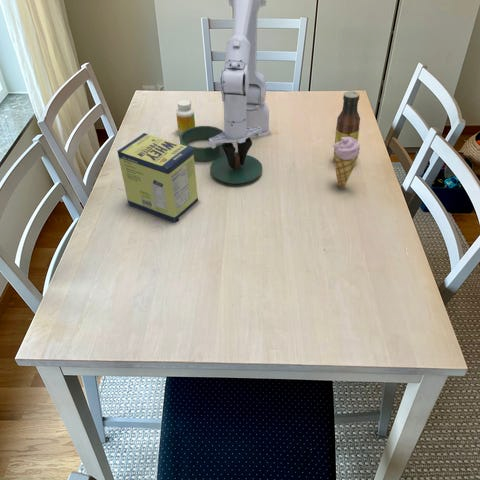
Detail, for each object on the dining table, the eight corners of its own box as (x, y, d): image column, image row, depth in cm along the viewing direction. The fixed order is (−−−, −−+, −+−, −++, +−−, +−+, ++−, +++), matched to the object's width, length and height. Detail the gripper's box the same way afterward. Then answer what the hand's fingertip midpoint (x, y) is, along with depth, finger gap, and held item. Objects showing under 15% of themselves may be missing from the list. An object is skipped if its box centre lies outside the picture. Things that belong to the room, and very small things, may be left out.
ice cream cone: (324, 189, 133) (330, 137, 122) (332, 178, 137) (339, 127, 126) (348, 196, 131) (357, 143, 120) (355, 184, 134) (365, 132, 124)
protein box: (151, 185, 135) (143, 131, 124) (199, 202, 129) (194, 147, 118) (126, 204, 129) (115, 150, 118) (175, 223, 123) (168, 168, 112)
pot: (214, 136, 153) (214, 121, 150) (234, 156, 145) (234, 141, 142) (174, 146, 149) (172, 131, 146) (191, 168, 141) (190, 153, 137)
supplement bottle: (194, 137, 153) (192, 106, 146) (177, 137, 153) (174, 106, 146) (196, 128, 157) (193, 98, 150) (179, 128, 157) (176, 98, 150)
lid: (247, 152, 144) (247, 136, 141) (271, 176, 135) (272, 160, 132) (202, 165, 140) (200, 148, 136) (224, 190, 131) (223, 174, 127)
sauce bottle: (353, 157, 144) (365, 89, 130) (355, 168, 140) (367, 99, 126) (331, 156, 145) (340, 88, 130) (331, 167, 140) (341, 98, 126)
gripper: (216, 130, 122) (218, 178, 132) (267, 117, 126) (266, 165, 136) (204, 118, 126) (207, 166, 136) (254, 106, 131) (254, 153, 140)
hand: (236, 164), depth 136 cm, fingers closed on lid, 2 cm apart
